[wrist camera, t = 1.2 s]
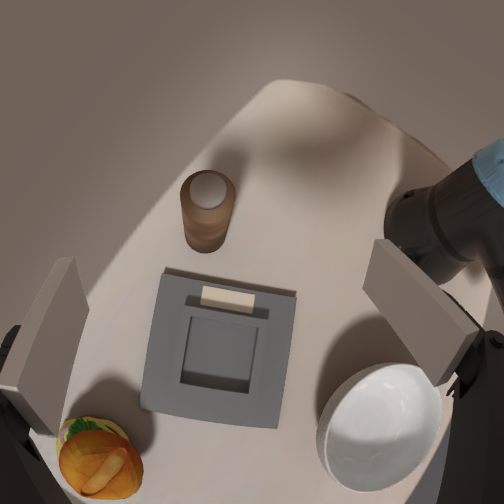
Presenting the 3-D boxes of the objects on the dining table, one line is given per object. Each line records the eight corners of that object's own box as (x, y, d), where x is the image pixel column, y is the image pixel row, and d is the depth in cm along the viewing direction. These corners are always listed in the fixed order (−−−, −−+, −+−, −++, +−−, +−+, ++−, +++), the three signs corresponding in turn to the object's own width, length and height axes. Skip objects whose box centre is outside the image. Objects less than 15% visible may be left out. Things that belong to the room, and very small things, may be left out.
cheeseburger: (60, 398, 29) (41, 419, 20) (142, 415, 33) (149, 442, 24) (59, 467, 26) (46, 502, 17) (138, 481, 30) (146, 520, 21)
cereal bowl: (296, 481, 31) (315, 505, 24) (308, 361, 36) (331, 365, 29) (404, 463, 33) (433, 476, 27) (416, 357, 38) (449, 357, 31)
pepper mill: (228, 218, 39) (241, 170, 28) (221, 256, 38) (231, 220, 26) (189, 211, 38) (187, 160, 27) (181, 249, 37) (173, 209, 26)
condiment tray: (294, 298, 38) (300, 296, 35) (275, 426, 33) (280, 432, 31) (162, 274, 36) (160, 270, 33) (140, 406, 31) (136, 410, 29)
